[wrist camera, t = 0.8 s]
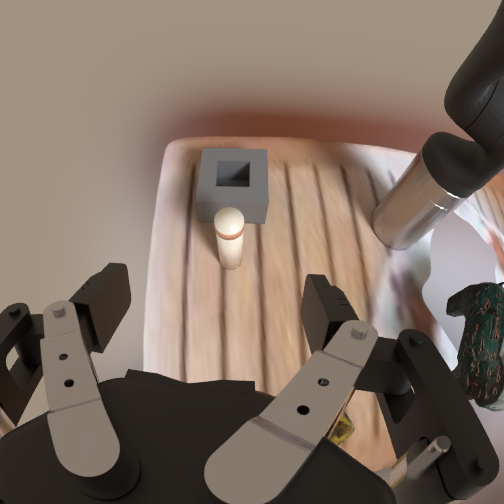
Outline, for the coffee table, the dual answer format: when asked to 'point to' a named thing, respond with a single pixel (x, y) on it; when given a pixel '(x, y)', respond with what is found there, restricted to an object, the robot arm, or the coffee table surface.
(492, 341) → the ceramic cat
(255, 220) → the hole block
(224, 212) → the dowel
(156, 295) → the coffee table surface
